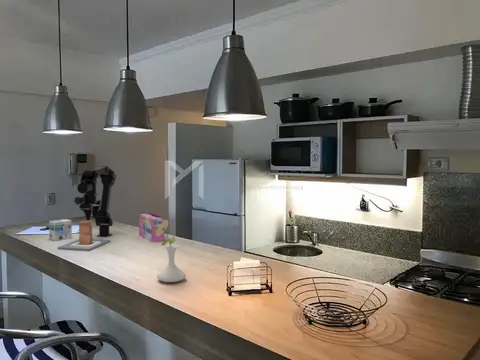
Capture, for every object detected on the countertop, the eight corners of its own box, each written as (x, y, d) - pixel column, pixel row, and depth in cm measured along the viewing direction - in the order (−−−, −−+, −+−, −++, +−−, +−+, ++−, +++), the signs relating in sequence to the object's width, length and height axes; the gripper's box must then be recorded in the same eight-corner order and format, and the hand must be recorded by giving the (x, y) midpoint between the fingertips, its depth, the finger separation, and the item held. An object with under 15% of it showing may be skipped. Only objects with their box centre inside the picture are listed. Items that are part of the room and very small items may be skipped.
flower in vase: (172, 274, 169) (172, 215, 167) (191, 279, 162) (191, 218, 160) (147, 281, 159) (147, 219, 157) (166, 288, 152) (166, 222, 150)
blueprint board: (81, 240, 231) (81, 236, 231) (110, 241, 227) (110, 238, 227) (57, 249, 209) (57, 245, 209) (89, 251, 206) (89, 246, 206)
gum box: (137, 235, 248) (137, 213, 247) (150, 233, 252) (149, 212, 252) (152, 242, 228) (152, 218, 227) (165, 240, 233) (165, 217, 232)
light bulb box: (54, 241, 228) (54, 222, 227) (48, 239, 232) (48, 221, 231) (72, 238, 236) (72, 220, 236) (66, 236, 240) (66, 218, 240)
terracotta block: (83, 244, 216) (82, 220, 215) (92, 244, 216) (92, 220, 215) (79, 246, 211) (79, 222, 210) (88, 246, 211) (88, 222, 210)
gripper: (82, 190, 234) (83, 216, 235) (69, 193, 215) (69, 222, 216) (101, 190, 234) (102, 216, 235) (90, 193, 215) (90, 222, 216)
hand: (91, 219), depth 225 cm, fingers open, 9 cm apart
